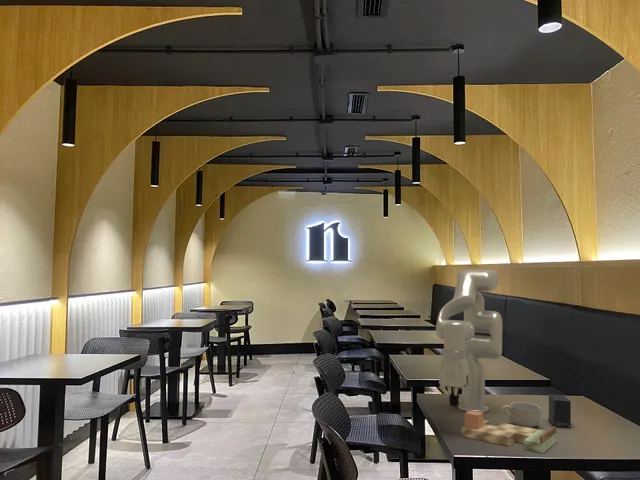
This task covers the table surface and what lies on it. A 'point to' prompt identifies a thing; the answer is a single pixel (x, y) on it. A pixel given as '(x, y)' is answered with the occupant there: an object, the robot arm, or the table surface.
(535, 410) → the teacup
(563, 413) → the small box
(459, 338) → the robot arm
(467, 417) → the block
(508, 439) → the board
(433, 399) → the table surface
